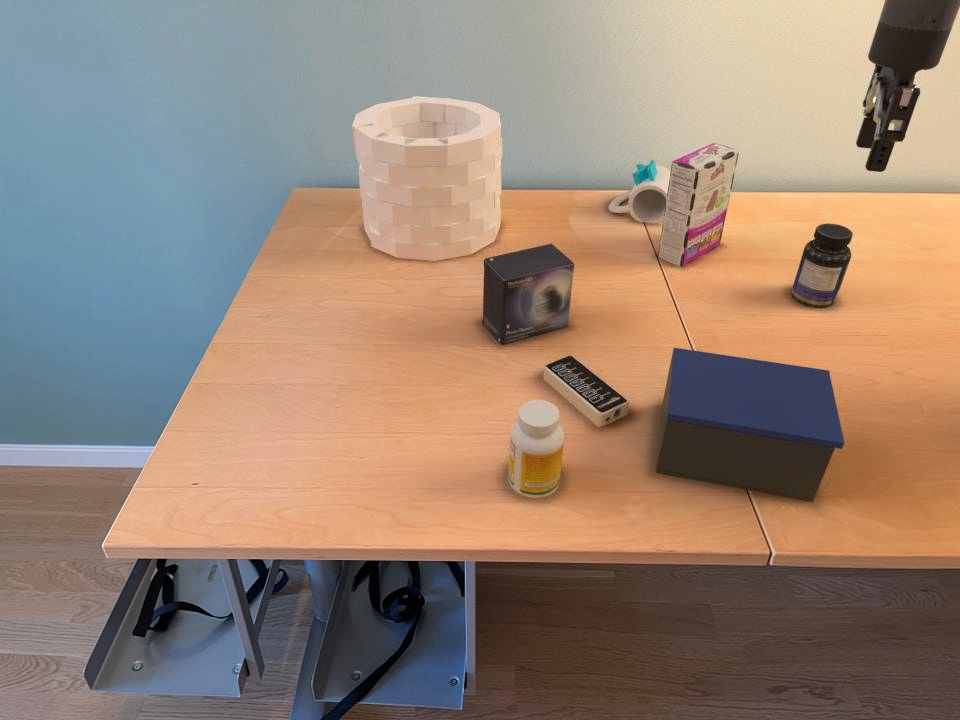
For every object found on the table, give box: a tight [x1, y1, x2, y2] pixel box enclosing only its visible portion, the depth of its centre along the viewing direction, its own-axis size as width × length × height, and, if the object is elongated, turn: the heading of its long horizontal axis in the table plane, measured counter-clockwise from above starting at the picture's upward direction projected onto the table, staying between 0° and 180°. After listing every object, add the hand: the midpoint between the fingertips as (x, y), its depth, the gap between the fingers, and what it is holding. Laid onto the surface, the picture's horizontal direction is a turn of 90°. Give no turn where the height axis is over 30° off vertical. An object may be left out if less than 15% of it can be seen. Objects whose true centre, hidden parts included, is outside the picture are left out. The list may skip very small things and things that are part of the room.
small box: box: [481, 243, 575, 346], centre depth 93 cm, size 11×6×10 cm, turn 115°
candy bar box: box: [657, 142, 740, 268], centre depth 109 cm, size 11×5×16 cm, turn 132°
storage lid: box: [667, 347, 845, 450], centre depth 72 cm, size 16×12×1 cm
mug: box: [608, 159, 671, 225], centre depth 125 cm, size 12×9×12 cm
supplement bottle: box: [508, 399, 565, 499], centre depth 70 cm, size 5×5×10 cm
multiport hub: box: [543, 354, 630, 428], centre depth 83 cm, size 4×11×2 cm, turn 33°
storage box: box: [655, 357, 836, 503], centre depth 74 cm, size 16×12×8 cm
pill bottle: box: [790, 222, 854, 309], centre depth 99 cm, size 6×6×11 cm
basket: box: [351, 95, 504, 262], centre depth 115 cm, size 25×24×19 cm
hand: (869, 158), depth 89 cm, fingers open, 8 cm apart
